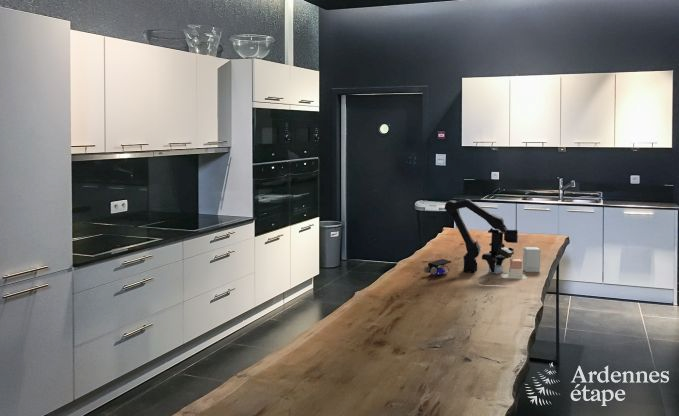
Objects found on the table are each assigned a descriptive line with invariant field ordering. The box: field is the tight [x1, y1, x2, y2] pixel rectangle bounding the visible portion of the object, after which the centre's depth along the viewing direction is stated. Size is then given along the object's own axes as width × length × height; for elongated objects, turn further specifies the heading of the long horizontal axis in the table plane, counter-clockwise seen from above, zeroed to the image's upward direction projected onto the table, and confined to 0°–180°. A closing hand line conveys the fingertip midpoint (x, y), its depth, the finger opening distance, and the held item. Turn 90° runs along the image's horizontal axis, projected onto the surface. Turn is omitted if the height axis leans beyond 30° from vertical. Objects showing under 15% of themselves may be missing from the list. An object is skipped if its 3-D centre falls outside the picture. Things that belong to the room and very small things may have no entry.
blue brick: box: [488, 264, 504, 274], centre depth 345 cm, size 5×5×4 cm
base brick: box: [508, 265, 524, 277], centre depth 337 cm, size 6×6×4 cm
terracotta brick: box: [509, 258, 523, 269], centre depth 337 cm, size 5×5×4 cm
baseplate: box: [499, 272, 528, 280], centre depth 337 cm, size 12×10×1 cm
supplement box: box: [522, 246, 542, 273], centre depth 350 cm, size 7×7×13 cm
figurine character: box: [422, 258, 453, 278], centre depth 339 cm, size 7×8×15 cm
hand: (495, 271), depth 345 cm, fingers closed on blue brick, 5 cm apart
